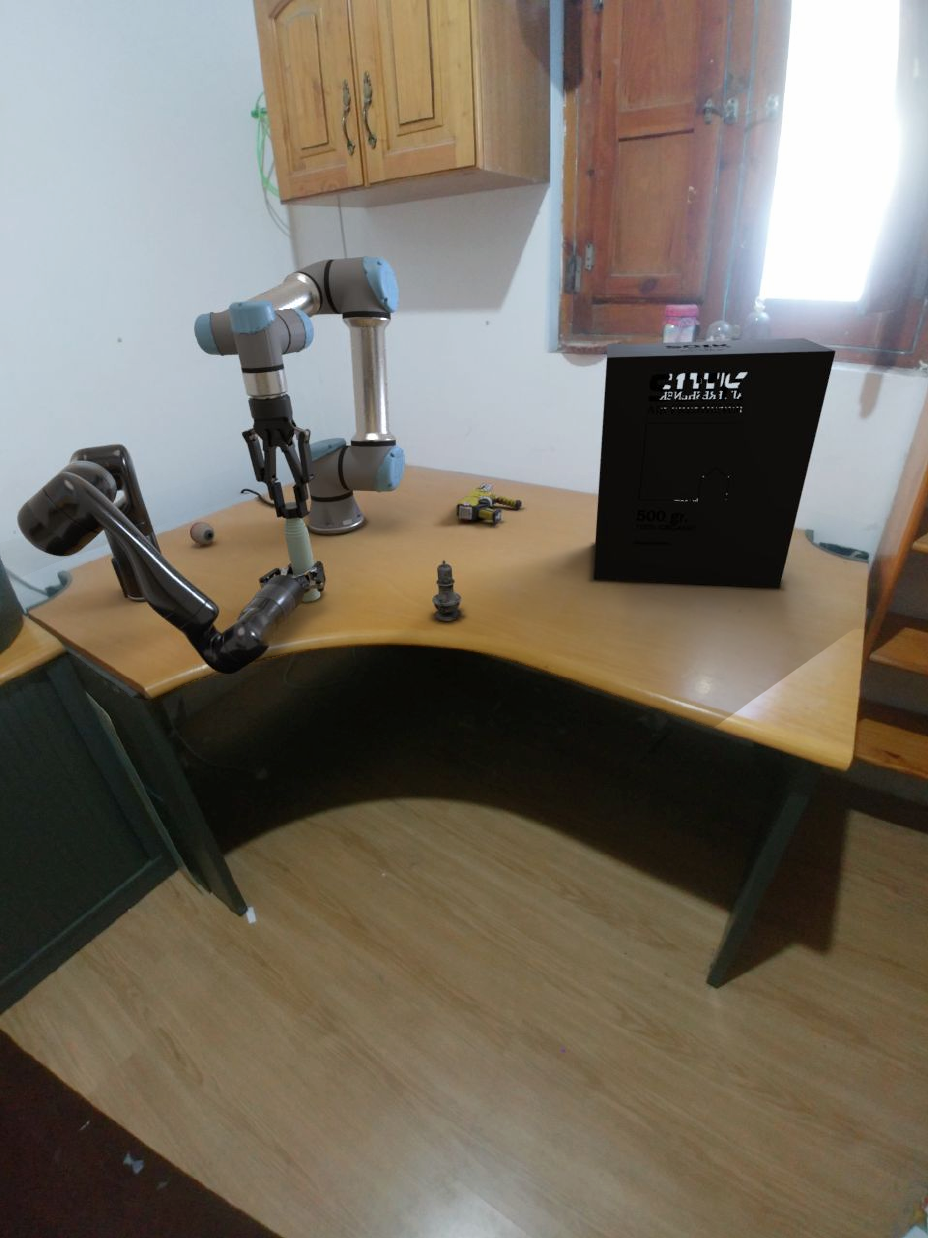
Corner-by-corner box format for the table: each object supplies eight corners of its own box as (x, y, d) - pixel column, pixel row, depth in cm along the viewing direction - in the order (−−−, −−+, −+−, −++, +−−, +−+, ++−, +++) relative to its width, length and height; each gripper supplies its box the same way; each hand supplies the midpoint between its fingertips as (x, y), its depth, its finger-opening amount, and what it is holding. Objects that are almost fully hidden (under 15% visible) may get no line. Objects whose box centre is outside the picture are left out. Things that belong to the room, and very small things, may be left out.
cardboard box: (759, 548, 141) (803, 338, 119) (779, 587, 124) (835, 350, 102) (595, 543, 149) (607, 344, 126) (593, 579, 132) (607, 357, 109)
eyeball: (203, 550, 158) (197, 528, 155) (188, 545, 161) (182, 524, 158) (222, 541, 162) (216, 520, 159) (207, 538, 166) (201, 517, 163)
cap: (298, 509, 125) (297, 500, 124) (306, 515, 122) (305, 505, 121) (278, 514, 123) (276, 505, 122) (286, 520, 120) (284, 510, 119)
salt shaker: (459, 622, 119) (455, 567, 113) (430, 620, 120) (425, 566, 114) (464, 608, 124) (461, 554, 118) (437, 606, 125) (432, 553, 119)
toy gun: (529, 487, 179) (482, 480, 183) (508, 512, 159) (455, 503, 163) (528, 503, 181) (481, 495, 185) (506, 528, 161) (454, 519, 165)
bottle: (315, 589, 135) (298, 501, 125) (323, 597, 132) (306, 507, 121) (295, 596, 133) (275, 507, 123) (303, 604, 129) (284, 513, 119)
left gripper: (307, 585, 114) (337, 548, 128) (237, 583, 116) (274, 548, 131) (314, 619, 118) (342, 580, 132) (246, 617, 120) (281, 579, 134)
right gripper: (319, 390, 112) (339, 510, 124) (238, 391, 116) (264, 507, 128) (301, 398, 106) (323, 523, 118) (215, 399, 110) (245, 520, 122)
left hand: (308, 564), depth 131 cm, fingers closed on bottle, 4 cm apart
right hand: (292, 515), depth 123 cm, fingers closed on cap, 4 cm apart
